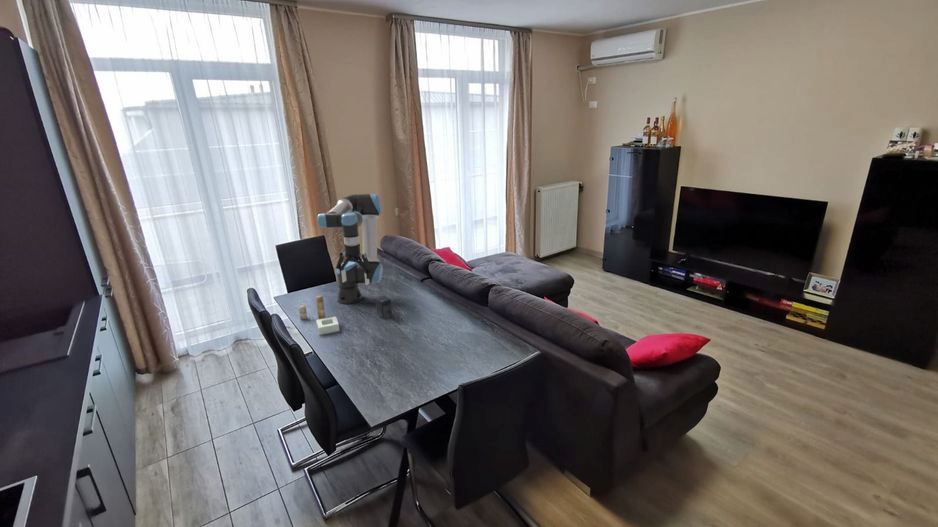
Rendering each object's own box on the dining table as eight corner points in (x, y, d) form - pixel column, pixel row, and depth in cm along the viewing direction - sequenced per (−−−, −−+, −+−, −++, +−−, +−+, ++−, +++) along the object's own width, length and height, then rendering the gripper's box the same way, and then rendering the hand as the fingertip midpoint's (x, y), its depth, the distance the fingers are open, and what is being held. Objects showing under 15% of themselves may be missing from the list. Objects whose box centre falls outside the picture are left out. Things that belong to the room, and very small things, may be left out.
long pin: (318, 319, 226) (315, 296, 222) (325, 318, 228) (322, 295, 223) (319, 322, 223) (316, 298, 219) (326, 320, 225) (323, 297, 220)
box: (392, 316, 230) (390, 299, 227) (383, 319, 227) (381, 301, 223) (385, 311, 236) (384, 294, 232) (376, 314, 232) (375, 297, 229)
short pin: (300, 317, 229) (298, 306, 226) (307, 316, 230) (305, 304, 228) (300, 320, 226) (298, 308, 223) (307, 318, 227) (305, 307, 225)
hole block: (317, 326, 218) (316, 320, 217) (336, 323, 222) (335, 316, 221) (319, 334, 210) (318, 327, 208) (339, 330, 214) (338, 324, 212)
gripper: (326, 244, 206) (331, 282, 213) (370, 248, 200) (373, 288, 207) (334, 239, 213) (339, 277, 220) (377, 243, 206) (380, 282, 213)
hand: (355, 282), depth 213 cm, fingers open, 13 cm apart
